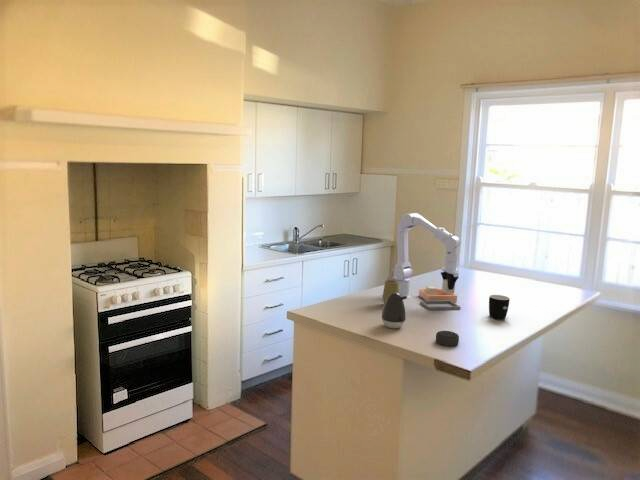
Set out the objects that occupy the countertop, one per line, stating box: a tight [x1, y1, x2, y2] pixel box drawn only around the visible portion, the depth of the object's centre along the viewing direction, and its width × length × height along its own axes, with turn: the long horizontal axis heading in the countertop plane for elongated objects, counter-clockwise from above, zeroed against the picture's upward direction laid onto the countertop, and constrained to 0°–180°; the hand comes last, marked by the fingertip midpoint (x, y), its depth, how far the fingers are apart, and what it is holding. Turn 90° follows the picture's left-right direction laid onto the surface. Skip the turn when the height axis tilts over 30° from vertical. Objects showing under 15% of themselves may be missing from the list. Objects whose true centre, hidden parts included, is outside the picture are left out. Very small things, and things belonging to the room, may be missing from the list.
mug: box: [488, 294, 511, 321], centre depth 251 cm, size 12×9×10 cm
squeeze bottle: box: [382, 268, 399, 305], centre depth 262 cm, size 8×8×18 cm
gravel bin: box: [418, 288, 458, 303], centre depth 278 cm, size 15×13×4 cm
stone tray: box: [419, 300, 461, 311], centre depth 263 cm, size 16×11×2 cm
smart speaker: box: [435, 330, 460, 347], centre depth 213 cm, size 9×9×4 cm
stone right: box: [441, 278, 456, 294], centre depth 263 cm, size 4×4×6 cm
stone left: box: [425, 285, 439, 296], centre depth 277 cm, size 4×4×6 cm
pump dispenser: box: [381, 292, 408, 330], centre depth 229 cm, size 10×10×15 cm
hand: (448, 288), depth 263 cm, fingers closed on stone right, 4 cm apart
